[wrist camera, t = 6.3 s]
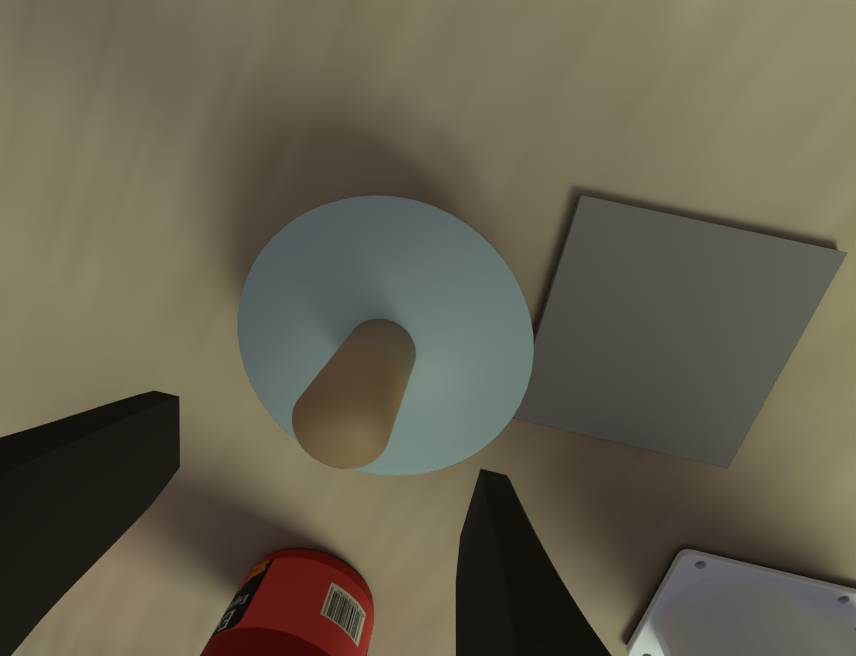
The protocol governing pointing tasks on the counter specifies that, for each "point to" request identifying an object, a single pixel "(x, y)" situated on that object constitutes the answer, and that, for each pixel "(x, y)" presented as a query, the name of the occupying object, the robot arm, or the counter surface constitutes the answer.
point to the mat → (669, 329)
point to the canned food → (297, 609)
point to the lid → (385, 335)
